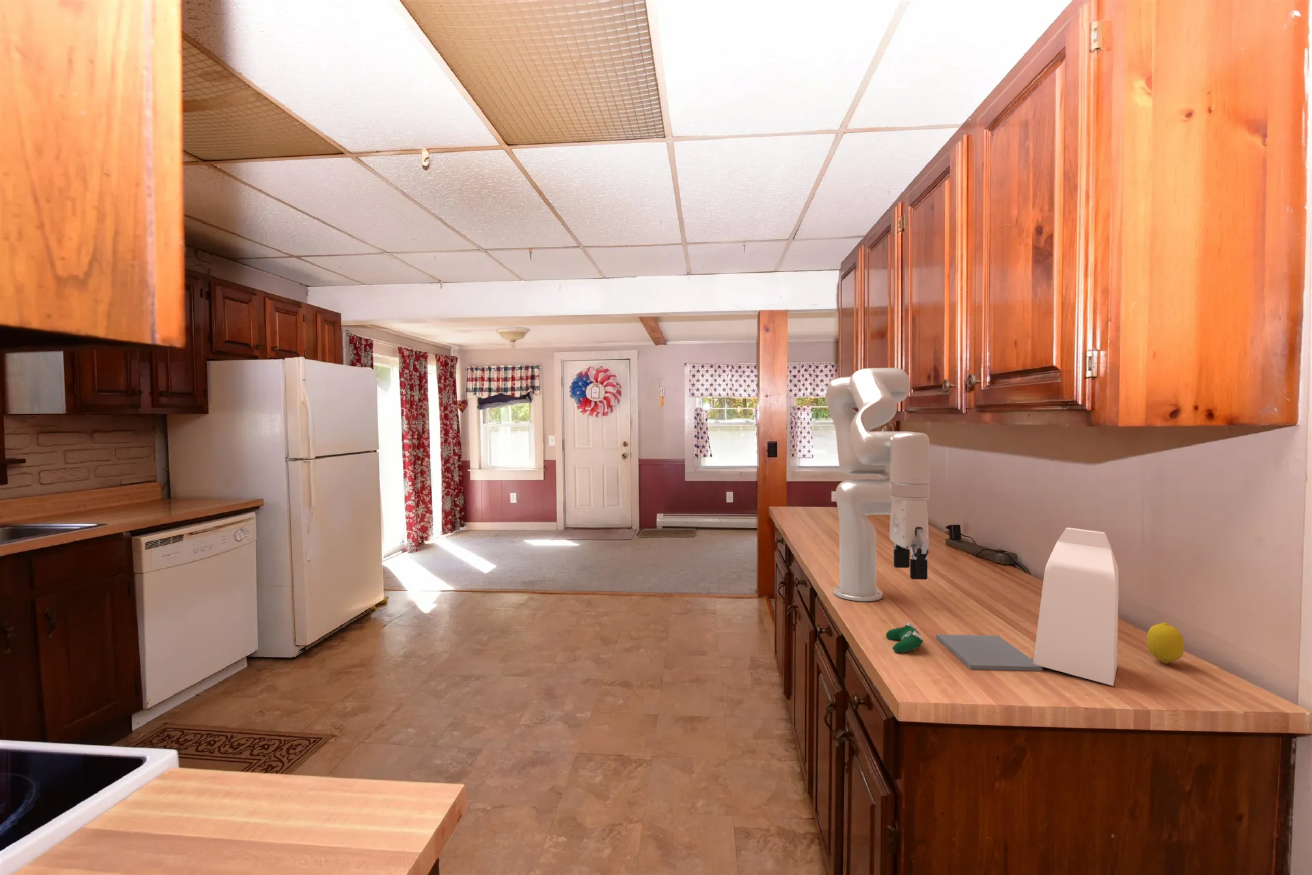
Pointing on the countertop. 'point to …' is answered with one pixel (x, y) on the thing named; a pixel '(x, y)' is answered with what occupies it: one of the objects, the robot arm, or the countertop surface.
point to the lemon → (1165, 642)
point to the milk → (1079, 608)
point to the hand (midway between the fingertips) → (909, 573)
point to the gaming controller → (905, 638)
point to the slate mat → (987, 652)
